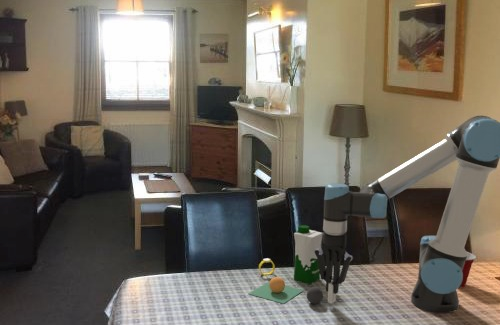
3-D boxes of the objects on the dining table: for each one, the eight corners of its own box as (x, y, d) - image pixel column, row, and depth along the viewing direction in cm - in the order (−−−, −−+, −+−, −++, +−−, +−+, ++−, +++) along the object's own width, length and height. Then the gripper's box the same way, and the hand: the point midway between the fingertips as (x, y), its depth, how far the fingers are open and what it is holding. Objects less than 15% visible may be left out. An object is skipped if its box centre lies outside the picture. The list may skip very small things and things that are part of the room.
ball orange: (272, 276, 199) (277, 291, 199) (264, 280, 194) (268, 296, 194) (285, 273, 196) (289, 289, 196) (277, 278, 191) (281, 294, 191)
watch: (260, 277, 211) (259, 261, 210) (258, 274, 213) (257, 259, 212) (275, 274, 212) (275, 259, 211) (273, 272, 215) (272, 257, 214)
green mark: (303, 290, 198) (303, 290, 198) (283, 303, 186) (283, 303, 186) (269, 281, 205) (269, 281, 205) (248, 294, 194) (248, 293, 194)
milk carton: (302, 273, 214) (304, 222, 211) (323, 279, 209) (325, 227, 206) (290, 280, 207) (291, 227, 204) (311, 286, 202) (313, 232, 199)
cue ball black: (312, 282, 189) (309, 296, 191) (305, 288, 185) (302, 303, 186) (327, 287, 187) (324, 302, 189) (320, 294, 182) (317, 309, 184)
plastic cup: (478, 290, 201) (480, 258, 199) (447, 289, 201) (450, 257, 199) (467, 279, 212) (469, 248, 210) (438, 278, 212) (440, 247, 210)
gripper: (358, 232, 180) (354, 302, 184) (321, 226, 187) (318, 293, 191) (348, 238, 174) (345, 310, 177) (311, 231, 181) (308, 300, 184)
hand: (331, 301), depth 184 cm, fingers closed
